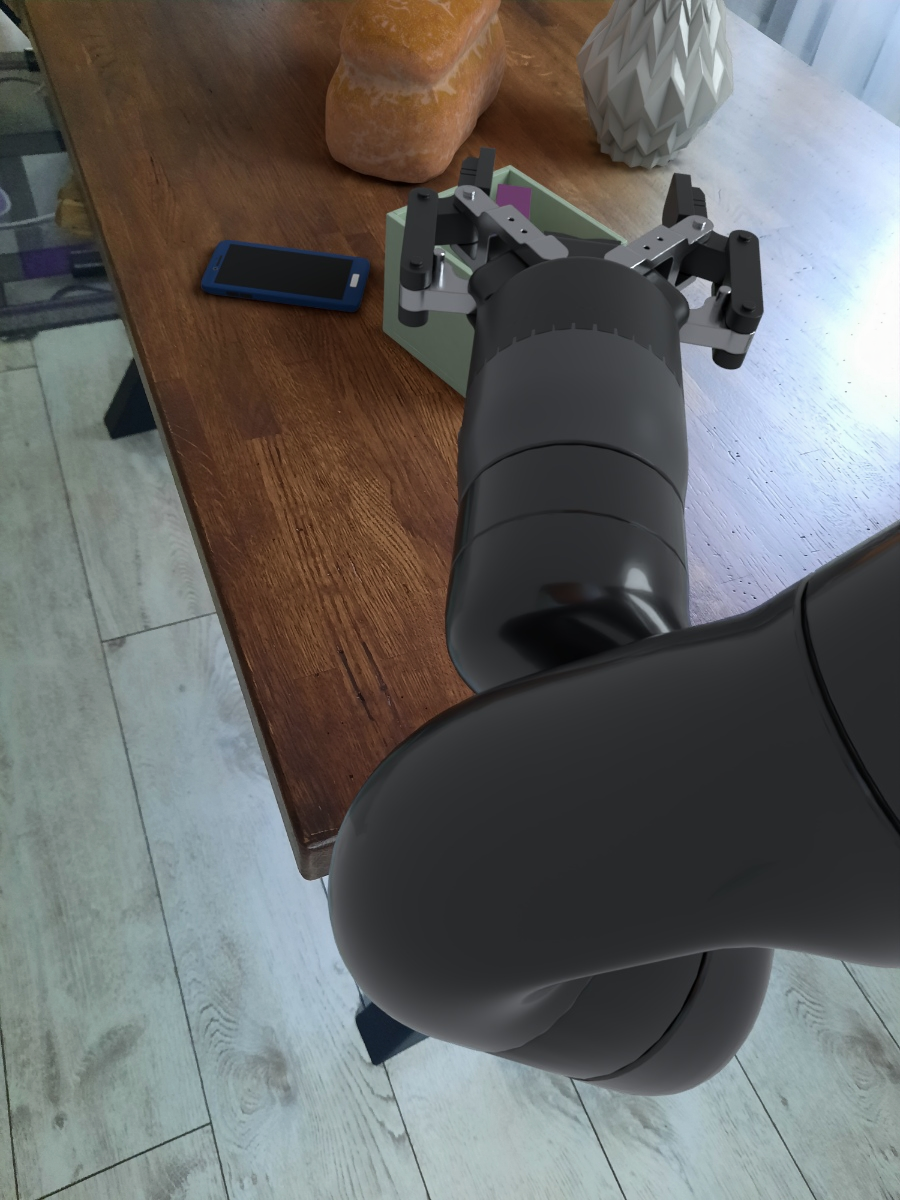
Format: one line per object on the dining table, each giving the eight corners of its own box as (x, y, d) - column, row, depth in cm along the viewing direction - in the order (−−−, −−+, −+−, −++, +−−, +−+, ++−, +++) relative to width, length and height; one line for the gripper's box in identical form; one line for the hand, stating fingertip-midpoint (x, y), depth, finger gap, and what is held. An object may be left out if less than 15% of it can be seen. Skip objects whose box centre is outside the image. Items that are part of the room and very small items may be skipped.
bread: (312, 166, 94) (307, -1, 82) (402, 63, 110) (408, -90, 97) (437, 199, 92) (450, 33, 80) (511, 90, 108) (531, -63, 96)
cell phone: (358, 314, 80) (359, 306, 79) (198, 292, 80) (197, 285, 79) (371, 265, 85) (371, 258, 84) (219, 245, 84) (219, 237, 84)
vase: (532, 137, 101) (562, -59, 87) (633, 101, 109) (677, -86, 94) (640, 207, 95) (692, 6, 80) (740, 163, 102) (805, -28, 87)
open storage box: (494, 278, 85) (510, 164, 77) (598, 354, 80) (628, 240, 71) (382, 330, 79) (385, 213, 71) (486, 415, 74) (504, 300, 65)
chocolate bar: (480, 315, 80) (497, 182, 71) (511, 319, 80) (532, 187, 71) (475, 352, 77) (492, 219, 68) (507, 356, 77) (529, 223, 68)
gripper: (823, 366, 29) (768, 115, 38) (366, 305, 29) (427, 70, 38) (742, 526, 35) (712, 274, 44) (364, 476, 35) (417, 235, 44)
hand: (580, 180), depth 41 cm, fingers open, 8 cm apart
